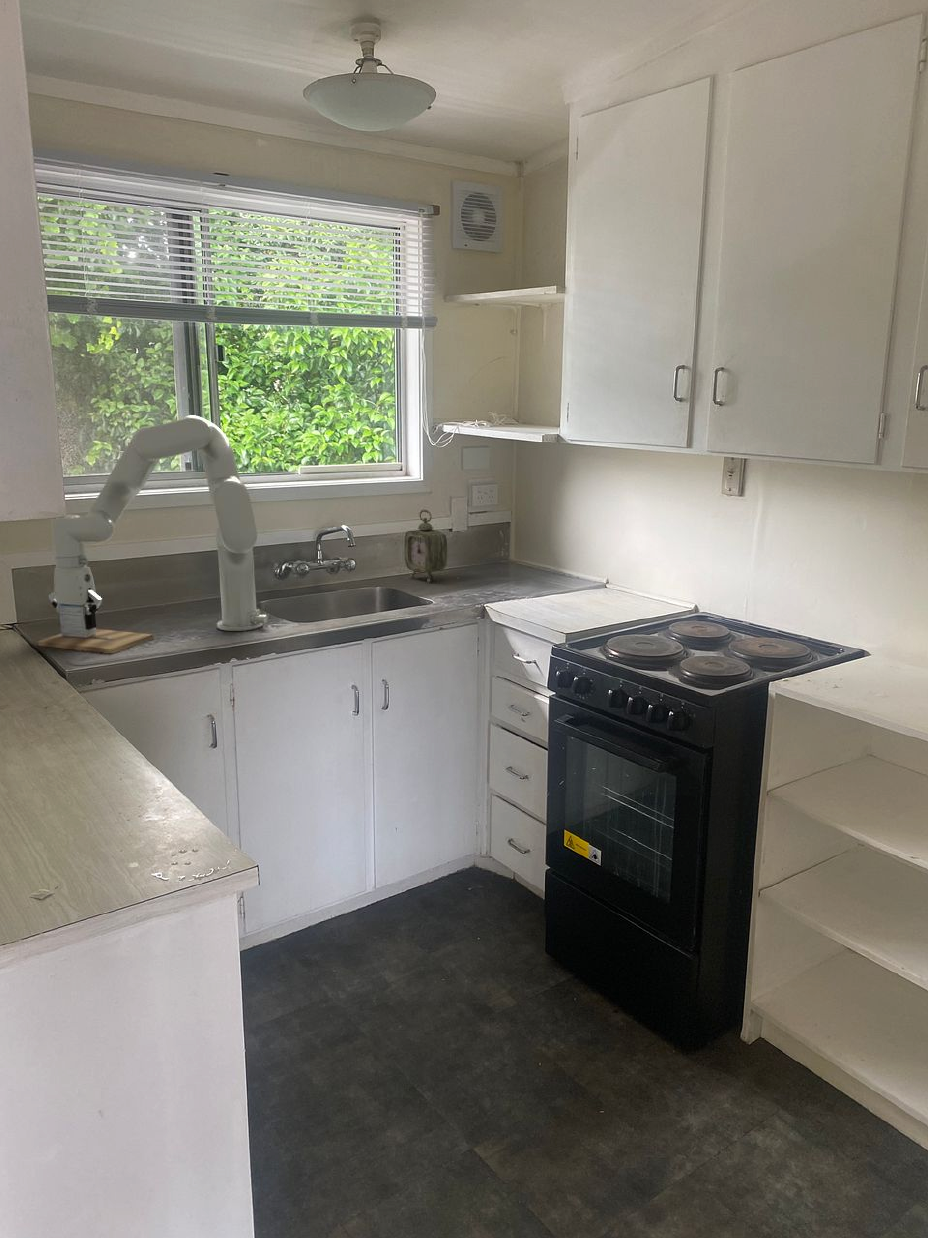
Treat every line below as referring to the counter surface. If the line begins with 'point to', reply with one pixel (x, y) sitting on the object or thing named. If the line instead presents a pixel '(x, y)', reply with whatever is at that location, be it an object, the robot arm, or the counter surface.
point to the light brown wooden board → (98, 641)
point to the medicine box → (74, 621)
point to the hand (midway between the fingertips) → (78, 626)
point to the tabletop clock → (425, 549)
